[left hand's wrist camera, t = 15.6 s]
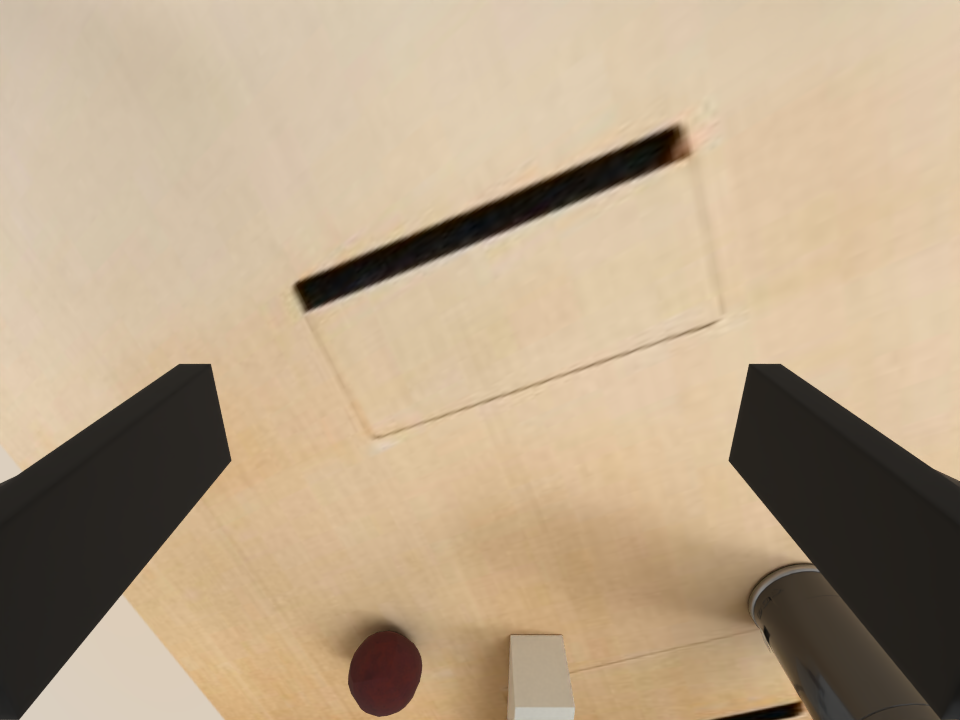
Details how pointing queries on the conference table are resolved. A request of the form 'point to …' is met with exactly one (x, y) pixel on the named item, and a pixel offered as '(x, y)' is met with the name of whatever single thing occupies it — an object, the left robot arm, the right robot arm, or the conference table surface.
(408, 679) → the dark red ball
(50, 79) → the conference table surface
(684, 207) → the conference table surface
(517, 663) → the bar
